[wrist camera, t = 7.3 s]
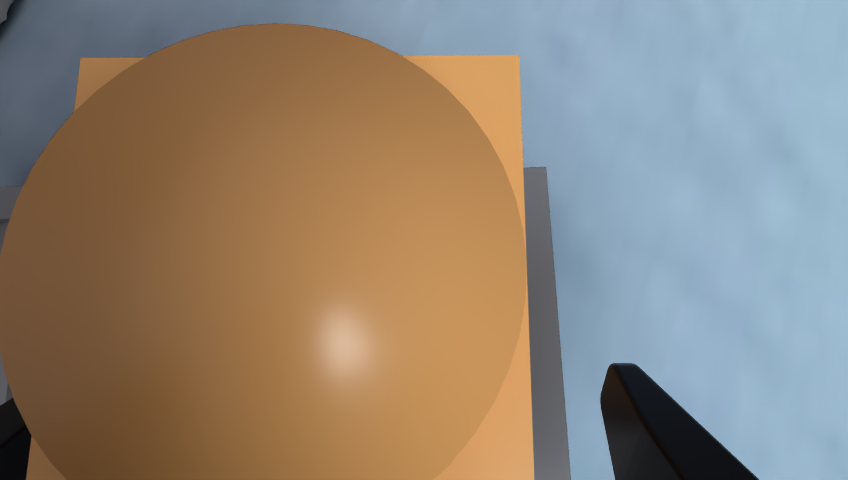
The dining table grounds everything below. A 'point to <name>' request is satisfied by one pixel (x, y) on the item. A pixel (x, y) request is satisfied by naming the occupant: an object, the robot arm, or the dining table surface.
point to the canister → (4, 9)
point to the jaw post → (275, 267)
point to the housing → (543, 328)
